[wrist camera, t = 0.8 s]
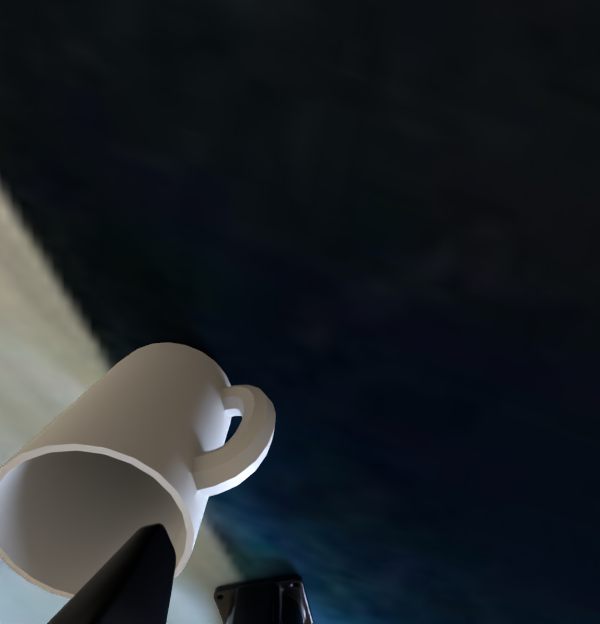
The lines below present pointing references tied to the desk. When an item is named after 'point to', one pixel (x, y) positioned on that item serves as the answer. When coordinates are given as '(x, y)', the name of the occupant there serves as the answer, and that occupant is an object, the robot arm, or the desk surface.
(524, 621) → the desk surface
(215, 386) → the cup
